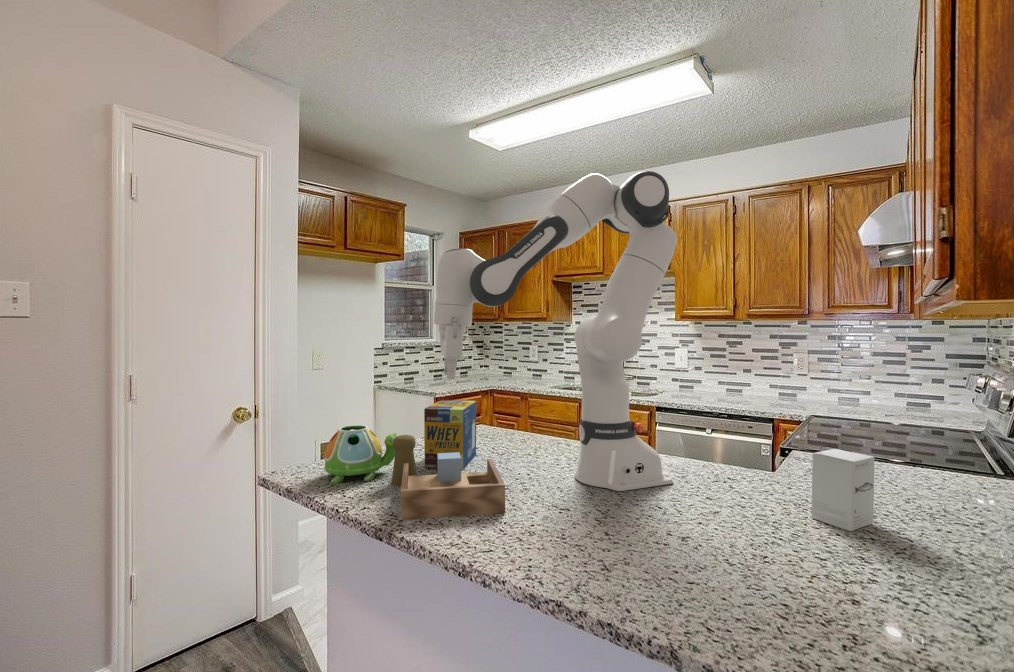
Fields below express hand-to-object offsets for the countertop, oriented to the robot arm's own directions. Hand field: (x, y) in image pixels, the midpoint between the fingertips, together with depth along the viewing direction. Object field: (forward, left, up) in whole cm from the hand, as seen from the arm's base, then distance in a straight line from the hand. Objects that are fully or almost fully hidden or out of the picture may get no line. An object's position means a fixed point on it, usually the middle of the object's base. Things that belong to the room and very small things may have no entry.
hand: (449, 376), depth 115 cm
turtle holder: (+21, -9, -25) cm, 34 cm away
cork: (+10, -1, -25) cm, 27 cm away
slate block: (0, +6, -22) cm, 23 cm away
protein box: (-2, -17, -25) cm, 30 cm away
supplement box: (-71, +37, -25) cm, 83 cm away
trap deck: (+1, +12, -25) cm, 27 cm away
